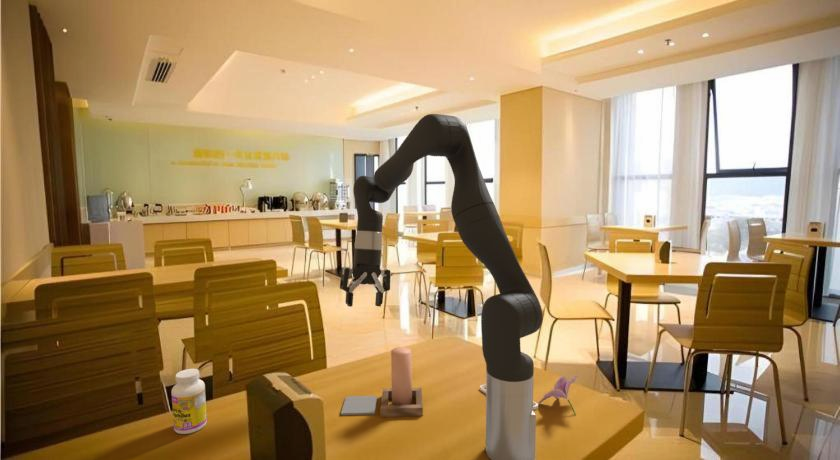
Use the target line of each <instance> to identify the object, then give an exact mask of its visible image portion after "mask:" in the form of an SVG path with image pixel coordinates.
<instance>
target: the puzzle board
mask: <svg viewBox="0 0 840 460" xmlns="http://www.w3.org/2000/svg"><path fill="white" fill-rule="evenodd" d="M422 393H423V392H422V387H412V399H415V404H412V405H392V404H389V399H392V387H388V388H387V387H385V388H382V393H381V400H380V401H381V402H380V411H379V412H380V414H379V415H380V417H382V418H384V417H385V418H386V417H387V418H388V417H422V416H424V415H423V414H424V410H423V409H424V407H423V394H422Z"/></svg>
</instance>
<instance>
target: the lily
mask: <svg viewBox="0 0 840 460" xmlns="http://www.w3.org/2000/svg"><path fill="white" fill-rule="evenodd" d="M580 375H581V373H578V374H576V375H574V376H573V377H571V378H570V379H568V377H566V376H565V375H562V376H560V377H559V378H558V380H556V381H555V383H554V385H553V389H551V390H549V391H548V392H546V393H545V394H544V395H543V396H542V398H541V399H540V400H539V402H537V404H538V405H540V404H541V403H543V402H544V401H546V400H547V399H549V398H551V397H553V398H554V399H557V400H559V398H560V399H561V398H562V399H565V400H567V402H568V404H569V405H570V407H571V410H572V412H573V414H574V416H576V415H577V414H576V411H575V409H574V407H573V405H572V403H571V401H570V399H569V397H568V396H569V390H570V387H571V385H572V384H574V383H575V382H577V381H578V379H577V377H579V376H580Z"/></svg>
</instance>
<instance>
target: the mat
mask: <svg viewBox="0 0 840 460" xmlns="http://www.w3.org/2000/svg"><path fill="white" fill-rule="evenodd" d="M377 401H378V395H360V396H359V395H357V396H355V395H354V396H351V395H350V396H347V395H346V396H345V398H344V401H343V405H342V407H341V411H340V416H364V415H365V416H369V415H375V414H376V409H377Z"/></svg>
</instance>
